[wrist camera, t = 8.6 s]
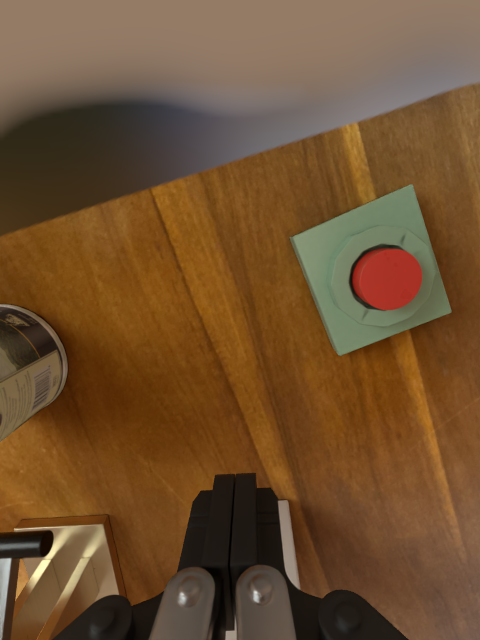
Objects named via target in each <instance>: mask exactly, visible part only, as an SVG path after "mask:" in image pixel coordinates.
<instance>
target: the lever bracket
mask: <svg viewBox="0 0 480 640" xmlns="http://www.w3.org/2000/svg"><path fill="white" fill-rule="evenodd" d="M40 530H51V531H52V532H53V535H54V542H53V546H52V549H51V551H50V552H49V554H48V555H47V556H45V557H42V558H23V561H24V564H25V567H26V571H27V574H28V577H29V581H28V583H27V584H26V586H25V587H24V589H23V590H22V592H21V593H20V595H19V596H18V598H17V599H16V601H15V606H14V614H13V623H12V632H11V640H52V639H53V638H54V637H55V636H57V635H58V634H59V633H60V632H61V631H62V630H63V629H64V628H66V627H67V626H68V625H69V624H70V623H71V622H72V621H74V620H75V619H76V618H77V617H78V616H79V615H80V614H81V613H83V612H84V611H85V610H86V609H87V608H88V607H89V606H90V605H92V604H93V603H94V602H96V601H97V600H99V599H101V598H103V597H105V596H108V595H121V596H124V597H125V598H127V597H126V593H125V588H124V584H123V579H122V575H121V570H120V566H119V562H118V557H117V553H116V548H115V544H114V539H113V535H112V530H111V526H110V521H109V517H108V515H96V516H78V517H60V518H43V519H25V520H21V521H20V523H19V524H18V525H17V526H16V527H15V529H14V531H15V532H21V531H40ZM45 623H46V624H45ZM44 625H45V626H44ZM43 627H44V628H43ZM42 629H43V630H42ZM41 630H42V632H41ZM40 632H41V633H40ZM39 634H40V635H39ZM38 636H39V637H38ZM37 638H38V639H37Z"/></svg>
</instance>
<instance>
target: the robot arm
mask: <svg viewBox="0 0 480 640" xmlns="http://www.w3.org/2000/svg"><path fill="white" fill-rule="evenodd" d="M235 616H236V632H237V640H408V639H407V638H406V637H405V636H404V635H403V634H402V633H401V632H400V631H398V630H397V629H396V628H395V627H394V626H393V625H392V624H391V623H390V622H389V621H388V620H386V619H385V618H384V617H383V616H382V615H381V614H380V613H379V612H378V611H377V610H376V609H375V608H373V607H372V606H371V605H370V604H369V603H368V602H367V601H366V600H365V599H363V598H362V597H361V596H359V595H358V594H356V593H354V592H351V591H348V590H335V591H332V592H330V593H328V594H327V595H326V596H325V597H324V598H323V599H321V598H318V597H315V596H312V595H309V594H307V593H304V592H303V591H301V590H299V589H298V588H297V587H296V586H295V585H294V584H293V583H292V582H291V581H290V579H289V578H288V576H287V574H286V571H285V566H284V556H283V547H282V537H281V527H280V517H279V507H278V498H277V497H276V495H275V493H274V492H273V490H272V489H271V488H257V483H256V473H241V474H236V477H235V474H221V475H215V478H214V485H213V490H206V491H200V493H199V494H198V496H197V497H196V498H195V500H194V501H193V504H192V508H191V513H190V517H189V522H188V528H187V531H186V535H185V540H184V544H183V549H182V553H181V557H180V562H179V566H178V570H177V573H176V574H175V575H174V576H173V577H172V578H171V579H170V580H169V582H168V583H167V585H166V587H165V590H164V591H163V592H162V593H161V594H159V595H157V596H156V597H154V598H151V599H149V600H146V601H144V602H141V603H138V604H136V605H133V606H131V604H130V602H129V600H128V599H127V598H125V597H124V596H121V595H108V596H105V597H103V598H101V599H99V600H97V601H96V602H94V603H93V604H92V605H90V606H89V607H88V608H87V609H86V610H85V611H84V612H83V613H81V614H80V615H79V616H78V617H77V618H76V619H75V620H74V621H72V622H71V623H70V624H69V625H68V626H67V627H66V628H64V629H63V630H62V631H61V632H60V633H59V634H58V635H57V636H55V637H54V638H53V639H52V640H225V637H226V631H235Z"/></svg>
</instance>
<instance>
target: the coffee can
mask: <svg viewBox="0 0 480 640" xmlns="http://www.w3.org/2000/svg"><path fill="white" fill-rule="evenodd" d="M67 371H68V363H67V357H66V353H65V349H64V346H63V344H62V343H61V341H60V339H59V337H58V335H57V334H56V333H55V331H54V330H53V329H52V328H51V326H50V325H49V324H48V323H46V322H45V321H44V320H43V319H42V318H40V317H39V316H38V315H36V314H35V313H33V312H31V311H29V310H26V309H24V308H21V307H18V306H14V305H7V304H0V442H1V441H2V440H3V439H5V438H6V437H7V436H8V435H10V434H11V433H12V432H13V431H15V430H16V429H17V428H18V427H20V426H21V425H22V424H23V423H25V422H26V421H27V420H29V419H30V418H31V417H32V416H33V415H35V414H36V413H37V412H39V411H40V410H41V409H42V408H44V407H46V406H47V405H49V404H50V403H51V402H53V401H54V400H55V399H56V398H57V397H58V395H59V394H60V393H61V391H62V389H63V387H64V385H65V382H66V378H67Z"/></svg>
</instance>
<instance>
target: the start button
mask: <svg viewBox="0 0 480 640" xmlns="http://www.w3.org/2000/svg"><path fill="white" fill-rule="evenodd" d="M352 283H353V288H354V290H355V292H356V294H357V295H358V297H359V298H360V299H361V300H363V301H364V302H366V303H368V304H370V305H371V306H373V307H375V308H378V309H381V310H394V309H398V308H401V307H403V306H405V305H406V304H408V303H409V302H410V301H412V300H413V299H414V297H415V296H416V295H417V293H418V291H419V289H420V287H421V283H422V270H421V267H420V264H419V263H418V261H417V260H416V258H415V257H414V256H413V255H411V254H410V253H408V252H406V251H404V250H400V249H387V248H381V249H376V250H373V251H371V252H369V253H367V254H366V255H364V256H363V257H362V258H361V259H360V260H359V261H358V263H357V264H356V266H355V269H354V271H353V276H352Z"/></svg>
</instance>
